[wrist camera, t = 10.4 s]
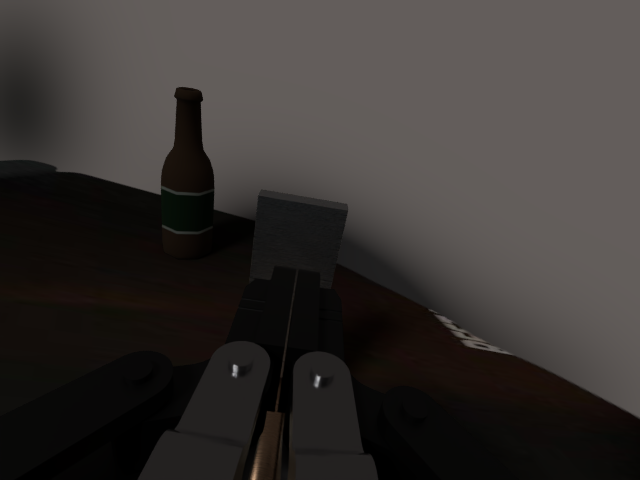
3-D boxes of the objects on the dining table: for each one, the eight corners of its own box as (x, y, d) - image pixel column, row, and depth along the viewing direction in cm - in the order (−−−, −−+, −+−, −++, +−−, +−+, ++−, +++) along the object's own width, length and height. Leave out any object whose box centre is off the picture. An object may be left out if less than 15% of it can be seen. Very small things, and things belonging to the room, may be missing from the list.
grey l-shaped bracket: (302, 413, 33) (348, 210, 24) (237, 404, 33) (258, 195, 23) (305, 363, 38) (344, 182, 29) (249, 355, 38) (270, 169, 29)
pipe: (255, 657, 19) (260, 638, 17) (204, 652, 18) (206, 633, 17) (298, 293, 47) (301, 277, 46) (278, 290, 47) (281, 273, 46)
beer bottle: (172, 265, 53) (169, 92, 42) (154, 241, 58) (147, 80, 47) (221, 254, 58) (230, 97, 47) (201, 233, 63) (204, 86, 52)
